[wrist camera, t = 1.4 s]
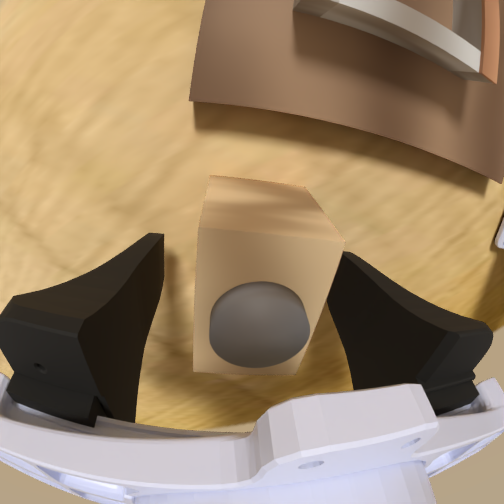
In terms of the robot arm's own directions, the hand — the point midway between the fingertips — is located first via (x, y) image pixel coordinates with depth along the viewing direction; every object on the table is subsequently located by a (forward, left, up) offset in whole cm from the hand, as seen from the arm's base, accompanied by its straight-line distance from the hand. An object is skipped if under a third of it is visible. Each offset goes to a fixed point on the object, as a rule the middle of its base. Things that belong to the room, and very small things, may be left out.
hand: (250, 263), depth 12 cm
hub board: (-5, -13, -2) cm, 14 cm away
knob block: (0, 0, -2) cm, 2 cm away
